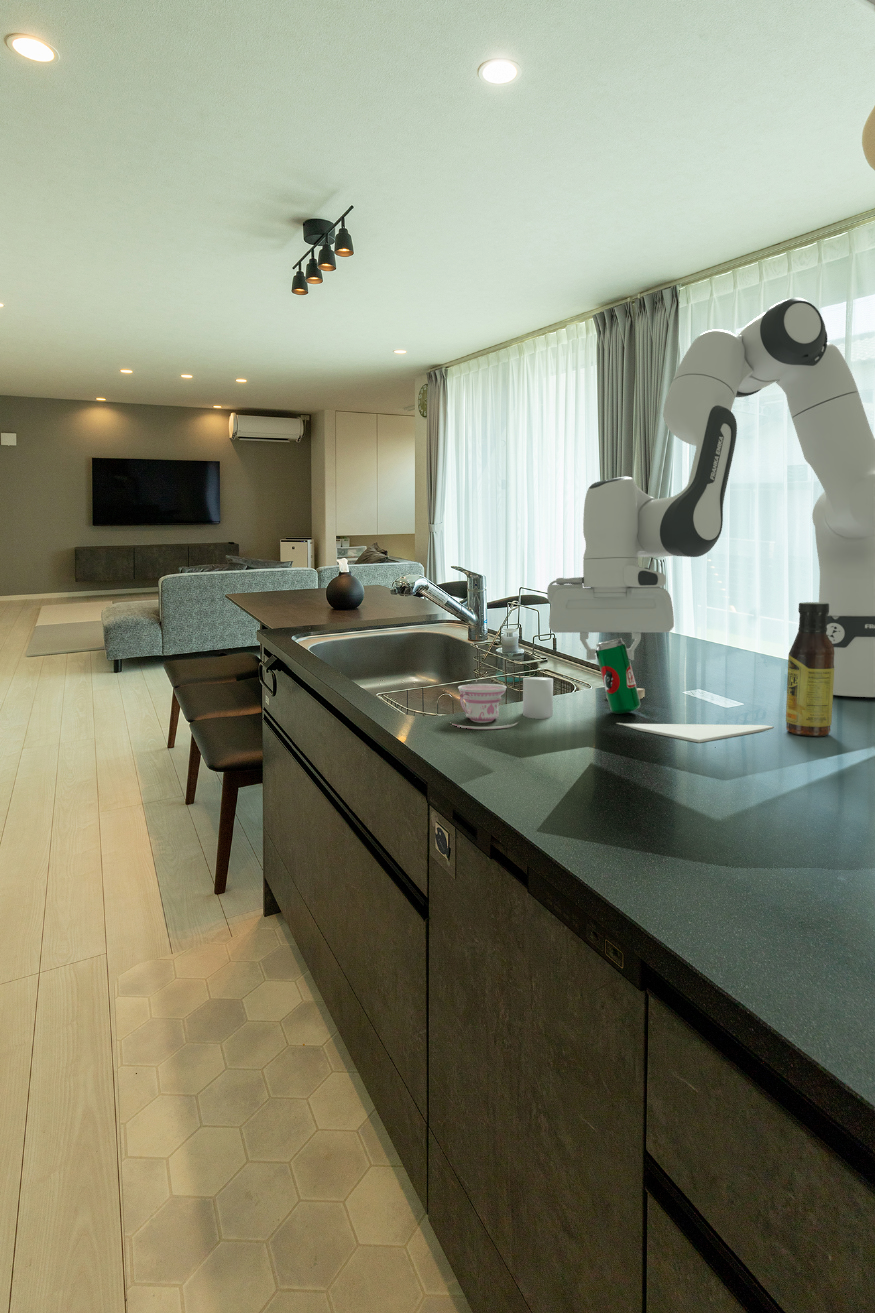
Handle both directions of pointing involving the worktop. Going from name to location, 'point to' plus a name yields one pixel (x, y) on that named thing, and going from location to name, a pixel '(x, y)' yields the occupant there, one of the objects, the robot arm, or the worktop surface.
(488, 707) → the teacup
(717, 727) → the mat
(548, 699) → the grey cylinder
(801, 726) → the sauce bottle
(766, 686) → the worktop surface
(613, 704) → the soda can
